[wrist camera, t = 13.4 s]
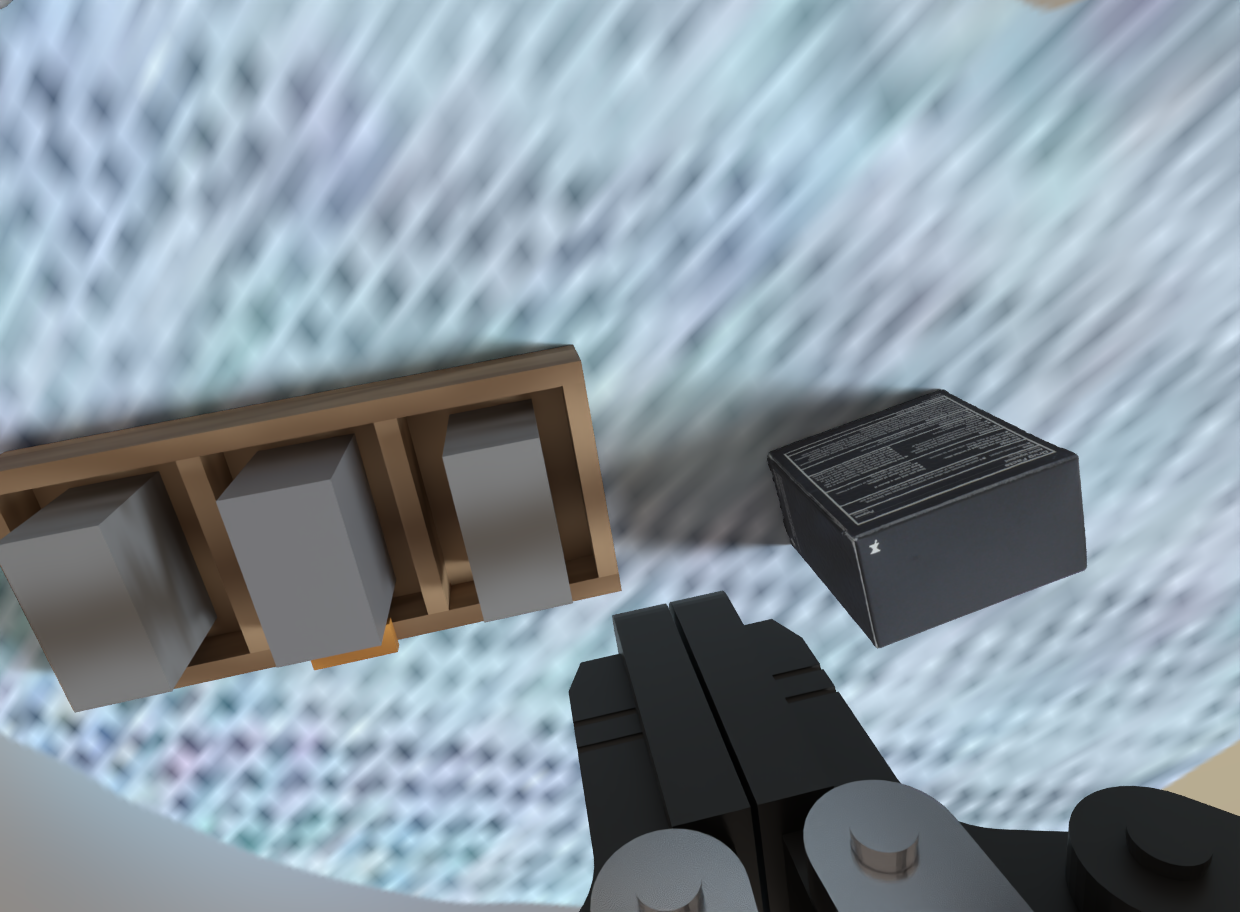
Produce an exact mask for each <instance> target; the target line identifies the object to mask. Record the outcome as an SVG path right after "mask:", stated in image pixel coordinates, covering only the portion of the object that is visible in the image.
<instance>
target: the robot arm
mask: <svg viewBox="0 0 1240 912" xmlns="http://www.w3.org/2000/svg"><path fill="white" fill-rule="evenodd" d="M612 618H613V625H614V631H615V636H616V642H617V647H618V653H619V654H616V655H612V656H608V657H603V658H599V659H594V660H590V661H586V662H581V663H580V666H579V668H578V671H577V673H576V675H575V678H574V680H573V682H572V685H571V687H570V690H569V698H570V704H571V711H572V717H573V723H574V730H575V737H576V743H577V749H578V757H579V763H580V770H581V776H582V783H583V789H584V796H585V802H586V809H587V815H588V822H589V828H590V835H591V841H592V848H593V855H594V874H593V881H592V884H591V888H590V891H589V894H588V896H587V898H586V900H585V902H584V905H583V906H582V908H581V909H580V911H579V912H1240V816H1237V815H1234V814H1232V813H1229V812H1226V811H1223V810H1221V809H1218V808H1215V807H1212V806H1210V805H1207V804H1204V803H1201V802H1199V801H1195V800H1193V799H1190V798H1187V797H1185V796H1182V795H1178V794H1175V793H1172V792H1169V791H1164V790H1160V789H1155V788H1149V787H1140V786H1118V787H1111V788H1106V789H1103V790H1099V791H1096V792H1094V793H1092V794H1090V795H1088V796H1087V797H1085V798H1084V799H1083V800H1081V801H1080V802H1079V803H1078V804H1077V805H1076V807H1075V809H1074V810H1073V812H1072V814H1071V817H1070V821H1069V831H1068V832H1060V831H1032V830H1005V829H992V828H984V827H979V826H974V825H969V824H966V823H963V822H959V821H958V820H957V819H956V818H955V817H954V816H953V815H952V814H951V812H950V811H949V810H948V809H947V808H946V807H945V806H943V805H942V804H941V803H939V802H938V801H937V800H936V799H934V798H933V797H931V796H929V795H927V794H926V793H924V792H922V791H920V790H918V789H915V788H913V787H910V786H907V785H904V784H901V783H900V782H899V780H898V779H897V778H896V776H895V775H894V773H893V772H892V770H891V769H890V767H889V766H888V764H887V763H886V761H885V760H884V758H883V757H882V755H881V754H880V752H879V751H878V750H877V748H876V747H875V745H874V744H873V742H872V741H871V739H870V738H869V736H868V735H867V733H866V732H865V730H864V729H863V727H862V726H861V724H860V723H859V721H858V720H857V718H856V717H855V715H854V714H853V712H852V711H851V709H850V708H849V706H848V705H847V704H846V702H845V701H844V699H843V698H842V696H841V695H840V693H839V692H836V690H835V686H834V684H833V683H832V681H831V680H830V678H829V677H828V675H827V674H826V672H825V671H824V669H822V670H821V667H820V663H819V662H818V660H817V659H816V658H815V656H814V655H813V653H812V652H811V650H810V649H809V647H808V646H807V644H806V643H805V641H804V640H803V638H802V637H800V636H799V635H797V634H795V633H794V632H792V631H790V630H789V629H787V628H786V627H784V626H782V625H781V624H779V623H777V622H776V621H774V620H773V619H770V620H765V621H761V622H756V623H752V624H748V625H744V624H743V623H742V621H741V619H740V617H739V616H738V614H737V612H736V610H735V608H734V607H733V605H732V603H731V601H730V600H729V598H728V596H727V595H726V593H725V592H724V591H719V592H714V593H710V594H705V595H701V596H696V597H692V598H687V599H683V600H678V601H674V602H670V603H669V608H668V606H667V604H661V605H656V606H652V607H647V608H643V609H638V610H634V611H629V612H625V613H620V614H616V615H612Z"/></svg>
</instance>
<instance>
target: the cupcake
mask: <svg viewBox="0 0 1240 912" xmlns="http://www.w3.org/2000/svg"><path fill="white" fill-rule="evenodd" d="M12 1H13V0H0V9H2V8H4V7H6V6H7V5H8V4H9V3H11V2H12Z"/></svg>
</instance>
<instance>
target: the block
mask: <svg viewBox="0 0 1240 912" xmlns="http://www.w3.org/2000/svg"><path fill="white" fill-rule="evenodd" d="M216 503H217V506H218V509H219V512H220V514H221V517H222V520H223V522H224V525H225V528H226V531H227V533H228V536H229V539H230V542H231V544H232V547H233V550H234V552H235V555H236V558H237V561H238V563H239V566H240V569H241V572H242V574H243V577H244V580H245V582H246V585H247V588H248V591H249V593H250V596H251V599H252V602H253V604H254V607H255V610H256V612H257V615H258V618H259V621H260V623H261V626H262V629H263V632H264V634H265V637H266V640H267V642H268V645H269V648H270V651H271V653H272V656H273V659H274V662H275V664H276V667H282V666H287V665H291V664H296V663H301V662H306V661H310V660H315V659H320V658H324V657H329V656H334V655H339V654H343V653H348V652H353V651H357V650H362V649H367V648H372V647H376V646H381V644H382V640H383V635H384V631H385V627H386V622H387V618H388V614H389V609H390V605H391V600H392V596H393V592H394V587H395V583H396V577H395V573H394V570H393V566H392V563H391V559H390V556H389V552H388V549H387V545H386V542H385V538H384V535H383V531H382V528H381V524H380V521H379V517H378V514H377V510H376V507H375V503H374V500H373V496H372V493H371V489H370V486H369V482H368V479H367V475H366V472H365V468H364V465H363V461H362V458H361V454H360V451H359V447H358V444H357V440H356V437H355V433H353V434H348V435H342V436H337V437H332V438H326V439H321V440H315V441H310V442H305V443H299V444H294V445H288V446H283V447H278V448H272V449H267V450H261V451H257V452H256V454H255V455H254V456H253V457H252V458H251V460H250V461H249V462H248V463H247V464H246V466H245V467H244V468H243V469H242V470H241V472H240V473H239V474H238V475H237V476H236V478H235V479H234V480H233V481H232V482H231V484H230V485H229V486H228V487H227V488H226V490H225V491H224V492H223V493H222V494H221V496H220V497H219V498H218V499H217V500H216Z"/></svg>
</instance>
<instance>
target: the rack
mask: <svg viewBox="0 0 1240 912" xmlns="http://www.w3.org/2000/svg"><path fill="white" fill-rule="evenodd" d="M353 433H355V437H356V440H357V444H358V447H359V451H360V454H361V458H362V461H363V465H364V468H365V472H366V475H367V479H368V482H369V486H370V489H371V493H372V496H373V500H374V503H375V507H376V510H377V514H378V517H379V521H380V524H381V528H382V531H383V535H384V538H385V542H386V545H387V549H388V552H389V556H390V559H391V563H392V566H393V570H394V573H395V577H396V583H395V587H394V592H393V596H392V600H391V605H390V609H389V614H388V618H387V622H386V627H385V631H384V635H383V640H382V644H381V646H376V647H372V648H367V649H362V650H357V651H353V652H348V653H343V654H339V655H334V656H329V657H324V658H320V659H315V660H311V663H312V666H313V668H314V670H318V669H323V668H327V667H332V666H336V665H341V664H346V663H350V662H355V661H359V660H364V659H368V658H373V657H377V656H382V655H386V654H391V653H395V652H398V648H399V643H398V640H399V639H404V638H408V637H413V636H418V635H422V634H427V633H431V632H436V631H440V630H445V629H449V628H454V627H459V626H463V625H468V624H472V623H477V622H481V621H484V622H489V621H494V620H499V619H503V618H508V617H512V616H517V615H521V614H526V613H530V612H535V611H539V610H544V609H549V608H553V607H558V606H562V605H567V604H571V603H573V601H577V600H582V599H586V598H591V597H595V596H600V595H604V594H609V593H613V592H618V591H622V590H621V584H620V578H619V573H618V567H617V561H616V556H615V550H614V545H613V539H612V533H611V528H610V522H609V516H608V511H607V505H606V499H605V494H604V488H603V483H602V477H601V471H600V466H599V460H598V454H597V449H596V443H595V437H594V432H593V426H592V421H591V415H590V409H589V404H588V398H587V392H586V387H585V381H584V375H583V370H582V364H581V360H580V358H579V356H578V354H577V352H576V350H575V348H574V346H573V345H569V346H563V347H558V348H553V349H547V350H542V351H537V352H532V353H526V354H521V355H516V356H510V357H505V358H500V359H494V360H489V361H484V362H479V363H473V364H468V365H463V366H457V367H452V368H447V369H441V370H436V371H431V372H425V373H420V374H415V375H410V376H404V377H399V378H394V379H388V380H383V381H378V382H372V383H367V384H362V385H357V386H351V387H346V388H341V389H335V390H330V391H325V392H319V393H314V394H309V395H304V396H298V397H293V398H288V399H282V400H277V401H272V402H266V403H261V404H256V405H250V406H245V407H240V408H235V409H229V410H224V411H219V412H213V413H208V414H203V415H197V416H192V417H187V418H182V419H176V420H171V421H166V422H160V423H155V424H150V425H144V426H139V427H134V428H129V429H123V430H118V431H113V432H107V433H102V434H97V435H91V436H86V437H81V438H75V439H70V440H65V441H60V442H54V443H49V444H44V445H38V446H33V447H28V448H22V449H17V450H12V451H7V452H4V453H2V454H1V455H0V566H1V568H2V570H3V572H4V574H5V576H6V578H7V580H8V582H9V584H10V586H11V588H12V590H13V592H14V594H15V596H16V598H17V600H18V602H19V604H20V606H21V608H22V610H23V612H24V614H25V616H26V617H27V619H28V621H29V623H30V625H31V627H32V629H33V631H34V633H35V635H36V637H37V639H38V641H39V643H40V645H41V647H42V649H43V651H44V653H45V655H46V657H47V659H48V661H49V663H50V665H51V667H52V669H53V671H54V673H55V675H56V677H57V679H58V681H59V683H60V685H61V687H62V689H63V691H64V693H65V695H66V697H67V699H68V701H69V703H70V705H71V707H72V709H73V711H74V712H80V711H84V710H89V709H93V708H98V707H102V706H107V705H112V704H116V703H121V702H125V701H130V700H134V699H139V698H143V697H148V696H152V695H157V694H162V693H166V692H171V691H173V689H176V688H181V687H185V686H190V685H194V684H199V683H203V682H208V681H212V680H217V679H222V678H226V677H231V676H235V675H240V674H244V673H249V672H253V671H258V670H263V669H267V668H272V667H276V664H275V662H274V659H273V656H272V653H271V651H270V648H269V645H268V642H267V640H266V637H265V634H264V632H263V629H262V626H261V623H260V621H259V618H258V615H257V612H256V610H255V607H254V604H253V602H252V599H251V596H250V593H249V591H248V588H247V585H246V582H245V580H244V577H243V574H242V572H241V569H240V566H239V563H238V561H237V558H236V555H235V552H234V550H233V547H232V544H231V542H230V539H229V536H228V533H227V531H226V528H225V525H224V522H223V520H222V517H221V514H220V512H219V509H218V506H217V503H216V500H217V499H218V498H219V497H220V496H221V494H222V493H223V492H224V491H225V490H226V488H227V487H228V486H229V485H230V484H231V482H232V481H233V480H234V479H235V478H236V476H237V475H238V474H239V473H240V472H241V470H242V469H243V468H244V467H245V466H246V464H247V463H248V462H249V461H250V460H251V458H252V457H253V456H254V455H255V454H256V452H257V451H261V450H267V449H272V448H278V447H283V446H288V445H294V444H299V443H305V442H310V441H315V440H321V439H326V438H332V437H337V436H342V435H348V434H353Z"/></svg>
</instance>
